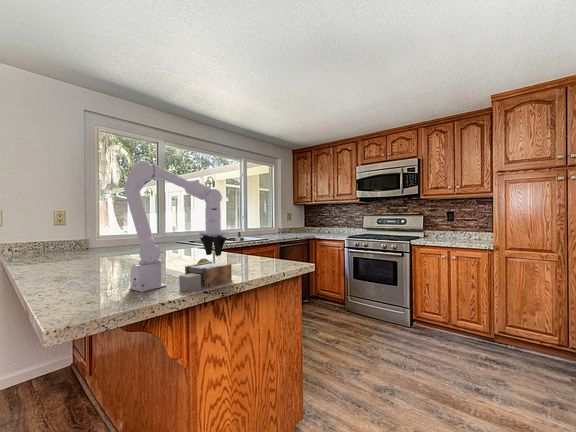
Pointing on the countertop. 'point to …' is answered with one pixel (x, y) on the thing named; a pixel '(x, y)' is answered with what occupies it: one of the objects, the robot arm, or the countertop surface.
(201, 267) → the trapdoor
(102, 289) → the countertop surface
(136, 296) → the countertop surface
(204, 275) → the frame
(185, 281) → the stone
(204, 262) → the coral
